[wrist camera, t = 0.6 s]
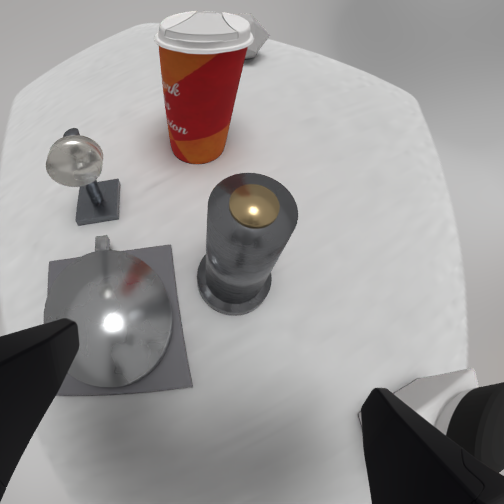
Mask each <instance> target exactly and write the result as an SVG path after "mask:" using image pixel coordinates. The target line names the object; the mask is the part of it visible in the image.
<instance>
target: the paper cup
mask: <svg viewBox="0 0 504 504" xmlns="http://www.w3.org/2000/svg"><path fill="white" fill-rule="evenodd" d="M250 28H251V27H250V24H249V22H248V21H247V20H246V19H244V18H242V17H240V16H238V15H234V14H230V13H225V12H223V15H222V14H217V13H216V12H211V11H203V13H197V11H190V12H183V13H179V14H175V15H172V16H169V17H167V18H165V19H164V20H163V21H162V22H161V24H160V27H159V31H158V32H157V33H156V35H155V37H154V41H155V43H156V44H157V45H159V54H160V65H161V75H162V84H163V93H164V101H165V109H166V117H167V124H168V130H169V137H170V143H171V147H172V151H173V153H174V155H175V156H176V157H177V158H178V159H180V160H182V161H184V162H187V163H191V164H203V163H208V162H211V161H213V160H215V159H216V158H218V157H219V156H220V155H221V154H222V152H223V150H224V147H225V143H226V139H227V135H228V130H229V125H230V121H231V116H232V112H233V107H234V103H235V99H236V94H237V90H238V85H239V81H240V77H241V73H242V68H243V64H244V60H245V56H246V52H247V48H248V46H249V45H251V44H252V43H253V40H254V37H253V35H252V33H251V32H250Z"/></svg>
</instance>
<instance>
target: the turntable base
mask: <svg viewBox="0 0 504 504" xmlns="http://www.w3.org/2000/svg"><path fill="white" fill-rule="evenodd" d="M121 252H125V253H128V254H131V255H133V256H135V257H137V258H139V259H141V260H142V261H144V262H145V263H146V264H147V265H148V266H150V267H151V268H152V269H153V271H154V272H155V273H156V274H157V275H158V277H159V278H160V280H161V281H162V284H163V286H164V288H165V290H166V292H167V295H168V298H169V301H170V304H171V309H172V318H173V324H172V333H171V339H170V342H169V345H168V348H167V350H166V352H165V354H164V356H163V357H162V359H161V361H160V362H159V363H158V365H157V366H156V367H155V368H154V369H153V370H152V371H151V372H150V373H149V374H148V375H146V376H145V377H143V378H142V379H140V380H139V381H136V382H134V383H132V384H129V385H126V386H121V387H98V386H92V385H89V384H86V383H83V382H81V381H79V380H77V379H76V378H74V377H73V376H71V375H70V374H69V373H67V375H66V377H65V379H64V381H63V383H62V385H61V387H60V389H59V391H58V393H57V394H56V395H110V394H126V393H139V392H150V391H160V390H169V389H177V388H185V387H192V381H191V376H190V370H189V365H188V360H187V354H186V349H185V343H184V337H183V331H182V325H181V318H180V312H179V305H178V298H177V291H176V283H175V275H174V267H173V258H172V249H171V245H164V246H156V247H148V248H141V249H134V250H126V251H121ZM78 258H80V257H77V258H70V259H64V260H57V261H50V262H49V272H48V294H49V291H50V289H51V287H52V285H53V283H54V281H55V280H56V278H57V277H58V276H59V274H60V273H61V272H62V271H63V270H64V269H65V268H66V267H67V266H68V265H69V264H71V263H72V262H73V261H75V260H76V259H78ZM47 296H48V295H47Z"/></svg>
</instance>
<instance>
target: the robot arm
mask: <svg viewBox="0 0 504 504" xmlns="http://www.w3.org/2000/svg"><path fill="white" fill-rule="evenodd" d="M78 350H79V334H78V325H77V323H76V322H75V321H73V320H70V319H68V318H62V319H59V320H55V321H52V322H49V323H45V324H42V325H39V326H35V327H32V328H28V329H25V330H21V331H18V332H15V333H11V334H8V335H4V336H1V337H0V501H1V499H2V497H3V494H4V492H5V490H6V487H7V485H8V483H9V481H10V478H11V476H12V474H13V472H14V470H15V468H16V466H17V464H18V462H19V460H20V458H21V456H22V454H23V452H24V451H25V449H26V447H27V445H28V443H29V441H30V439H31V437H32V436H33V434H34V432H35V430H36V428H37V427H38V425H39V423H40V421H41V420H42V418H43V416H44V414H45V413H46V411H47V409H48V408H49V406H50V404H51V403H52V401H53V399H54V398H55V396H56V394H57V393H58V391H59V389H60V387H61V385H62V383H63V381H64V379H65V377H66V375H67V373H68V371H69V369H70V367H71V365H72V362H73V360H74V358H75V356H76V354H77V352H78ZM361 420H362V433H363V447H364V455H365V462H366V468H367V474H368V480H369V486H370V493H371V500H372V504H504V476H503V475H501V474H499V473H498V472H496V471H495V470H493V469H491V468H490V467H488V466H487V465H485V464H484V463H482V462H480V461H479V460H478V459H476V458H475V457H473V456H472V455H471V454H469V453H468V452H467V451H465V450H464V449H463V448H461V447H460V446H459V445H458V444H456V443H455V442H454V441H452V440H451V439H450V438H448V437H447V436H446V435H445V434H443V433H442V432H441V431H439V430H438V429H437V428H436V427H434V426H433V425H432V424H431V423H429V422H428V421H427V420H425V419H424V418H423V417H422V416H420V415H419V414H418V413H417V412H415V411H414V410H413V409H412V408H410V407H409V406H408V405H407V404H405V403H404V402H403V401H402V400H400V399H399V398H398V397H397V396H395V395H394V394H393V393H392V392H390V391H389V390H388V389H386V388H374V389H373V390H372V391H371V393H370V395H369V396H368V398H367V399H366V401H365V402H364V404H363V406H362V408H361Z"/></svg>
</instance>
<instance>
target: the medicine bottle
mask: <svg viewBox="0 0 504 504" xmlns="http://www.w3.org/2000/svg"><path fill="white" fill-rule="evenodd" d="M394 395H395V396H397V397H398V398H399V399H400V400H402V401H403V402H404V403H405V404H407V405H408V406H409V407H410V408H412V409H413V410H414V411H415V412H417V413H418V414H419V415H420V416H422V417H423V418H424V419H425V420H427V421H428V422H429V423H431V424H432V425H433V426H434V427H436V428H437V429H438V430H439V431H441V432H442V433H443V434H445V435H446V436H447V437H448V438H450V439H451V440H452V441H454V442H455V443H456V444H458V445H459V446H460V447H461V448H463V449H464V450H465V451H467V452H468V453H469V454H471V455H472V456H473V457H475V458H476V459H478V460H479V461H480V462H482V463H484V464H485V465H487V466H488V467H490V468H491V469H493V470H495V471H496V472H498V473H499V472H501V471H502V470H503V469H504V382H503V383H499V384H494V385H489V386H484V387H479V386H478V381H477V377H476V373H475V370H474V369H473V368H468V369H464V370H460V371H455V372H450V373H445V374H440V375H435V376H430V377H424V378H418V379H417V380H415V381H413V382H412V383H410V384H409V385H407V386H405V387H404V388H402V389H400V390H399V391H397V392H395V393H394ZM359 419H360V422H361V425H362V420H361V412H359Z"/></svg>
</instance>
